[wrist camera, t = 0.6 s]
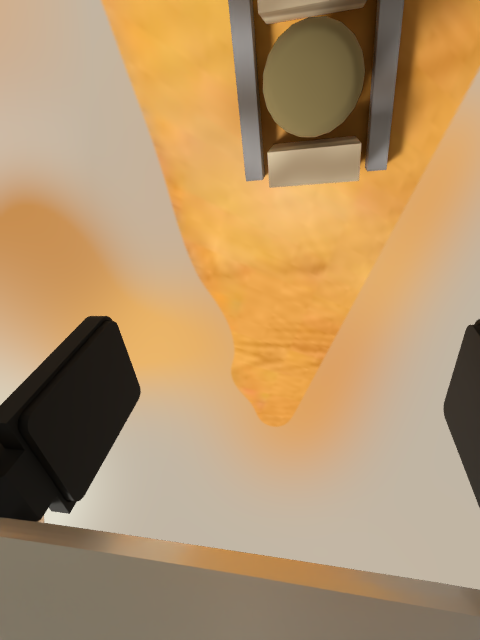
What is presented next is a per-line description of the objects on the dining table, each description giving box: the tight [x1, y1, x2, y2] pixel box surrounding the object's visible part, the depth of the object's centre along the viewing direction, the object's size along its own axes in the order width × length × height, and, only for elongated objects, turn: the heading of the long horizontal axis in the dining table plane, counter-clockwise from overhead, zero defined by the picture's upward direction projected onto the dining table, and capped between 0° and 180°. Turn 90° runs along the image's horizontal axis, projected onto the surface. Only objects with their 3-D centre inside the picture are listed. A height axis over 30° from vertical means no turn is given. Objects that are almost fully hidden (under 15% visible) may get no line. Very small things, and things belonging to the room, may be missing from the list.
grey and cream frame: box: [228, 0, 404, 188], centre depth 24 cm, size 12×11×4 cm
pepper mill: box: [263, 16, 365, 137], centre depth 21 cm, size 6×6×11 cm
